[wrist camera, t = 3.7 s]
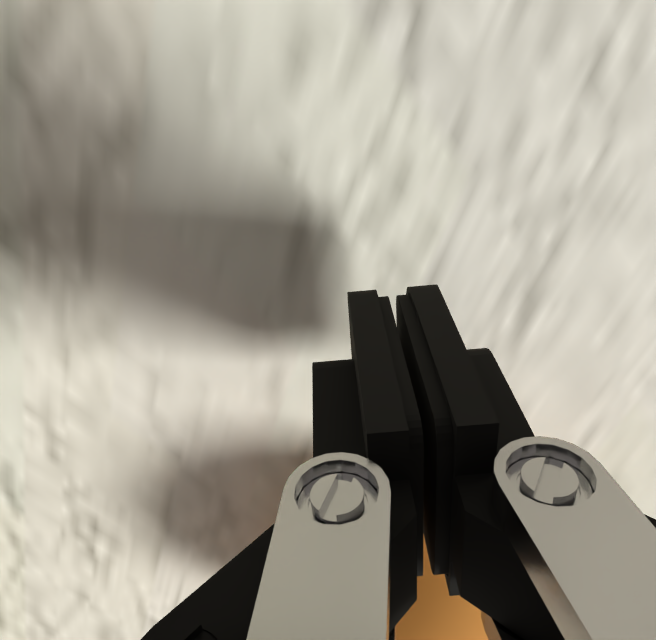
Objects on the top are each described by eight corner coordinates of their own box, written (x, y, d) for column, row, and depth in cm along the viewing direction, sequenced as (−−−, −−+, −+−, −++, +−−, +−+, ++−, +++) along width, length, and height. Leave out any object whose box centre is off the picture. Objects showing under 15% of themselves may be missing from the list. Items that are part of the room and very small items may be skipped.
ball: (272, 469, 15) (253, 727, 10) (500, 451, 15) (602, 701, 10) (296, 605, 18) (292, 854, 13) (485, 590, 18) (557, 836, 13)
